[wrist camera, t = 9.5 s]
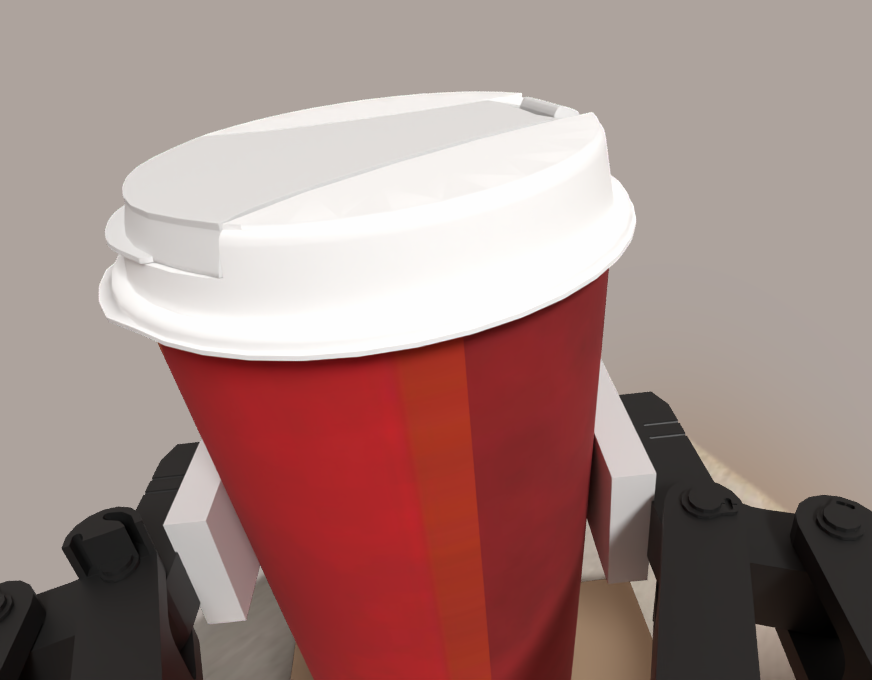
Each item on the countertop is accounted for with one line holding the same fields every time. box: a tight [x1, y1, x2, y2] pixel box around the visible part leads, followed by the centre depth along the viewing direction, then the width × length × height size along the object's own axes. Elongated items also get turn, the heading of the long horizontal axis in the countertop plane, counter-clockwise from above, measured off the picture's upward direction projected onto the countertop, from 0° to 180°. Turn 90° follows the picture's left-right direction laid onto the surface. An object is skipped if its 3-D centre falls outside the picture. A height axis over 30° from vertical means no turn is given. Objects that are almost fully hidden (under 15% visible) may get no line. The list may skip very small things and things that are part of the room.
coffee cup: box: [99, 92, 636, 680], centre depth 14 cm, size 8×8×15 cm
